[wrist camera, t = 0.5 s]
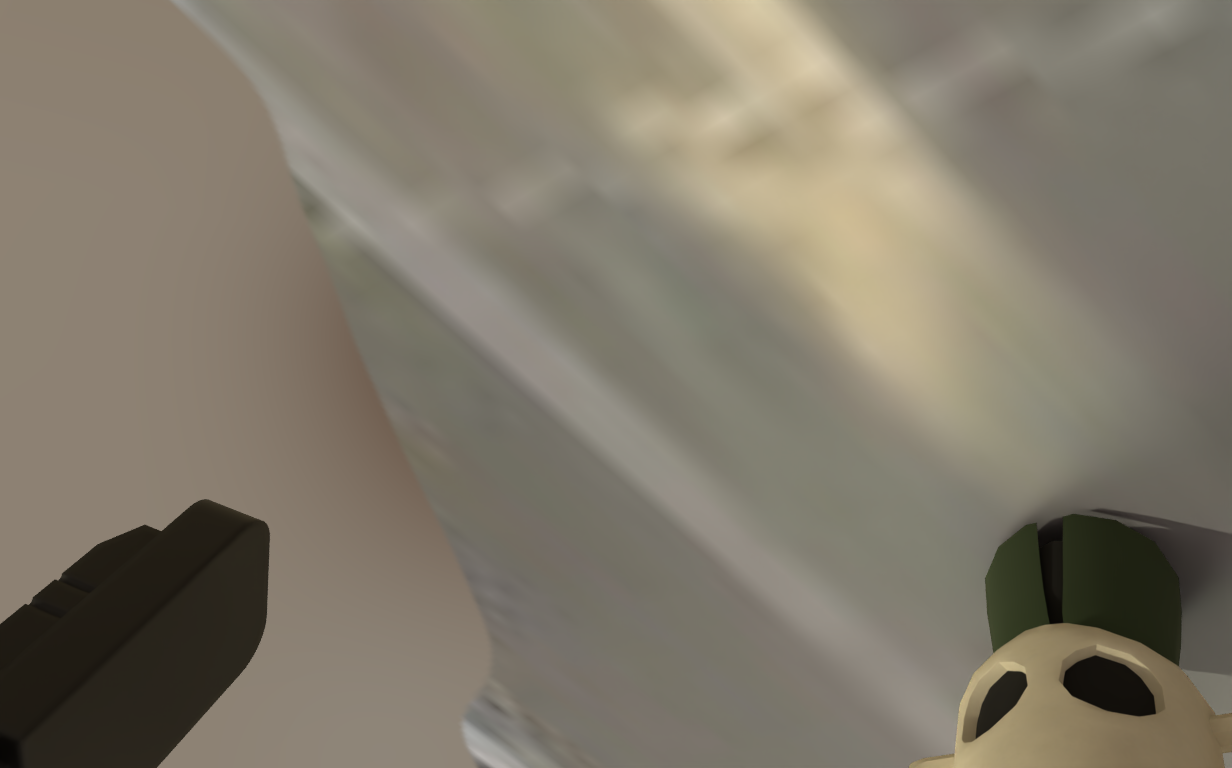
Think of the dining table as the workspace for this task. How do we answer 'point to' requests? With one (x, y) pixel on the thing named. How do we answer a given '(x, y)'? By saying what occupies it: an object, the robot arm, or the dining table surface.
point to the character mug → (1084, 660)
